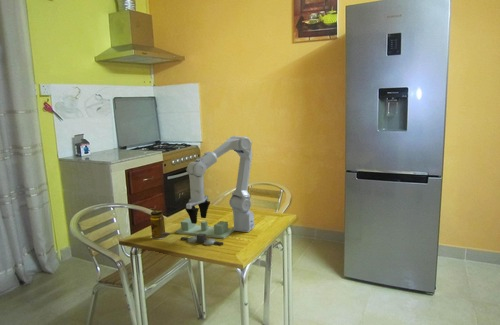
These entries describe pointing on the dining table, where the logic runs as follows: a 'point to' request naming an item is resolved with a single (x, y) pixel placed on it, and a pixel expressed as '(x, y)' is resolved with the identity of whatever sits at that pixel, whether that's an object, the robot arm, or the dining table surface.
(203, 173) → the robot arm
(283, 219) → the dining table surface
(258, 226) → the dining table surface
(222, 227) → the display stand
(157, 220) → the condiment
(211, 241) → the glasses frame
